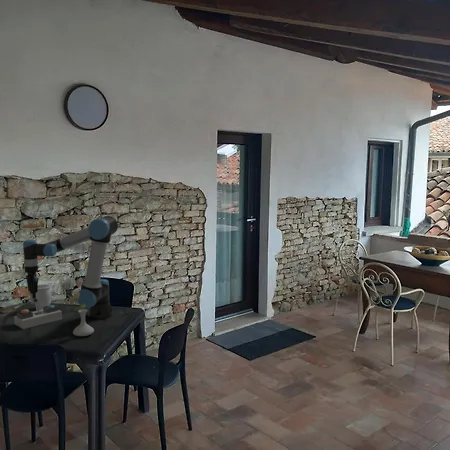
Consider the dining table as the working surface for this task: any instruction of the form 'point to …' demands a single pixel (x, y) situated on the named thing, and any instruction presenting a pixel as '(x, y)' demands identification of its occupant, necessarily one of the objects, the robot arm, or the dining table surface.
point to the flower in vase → (83, 327)
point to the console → (38, 317)
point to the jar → (43, 296)
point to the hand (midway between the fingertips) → (33, 303)
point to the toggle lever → (36, 305)
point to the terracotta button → (24, 311)
